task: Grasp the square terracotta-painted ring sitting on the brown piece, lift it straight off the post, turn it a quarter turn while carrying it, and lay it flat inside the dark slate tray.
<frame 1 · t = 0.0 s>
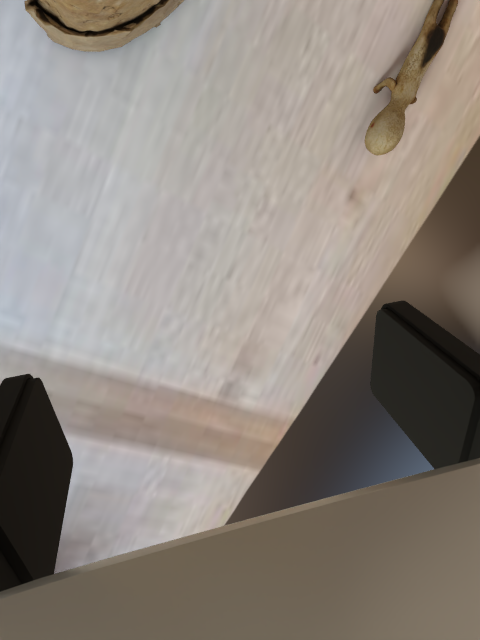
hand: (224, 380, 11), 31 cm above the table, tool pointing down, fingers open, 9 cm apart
figurine: (397, 77, 38), on the table
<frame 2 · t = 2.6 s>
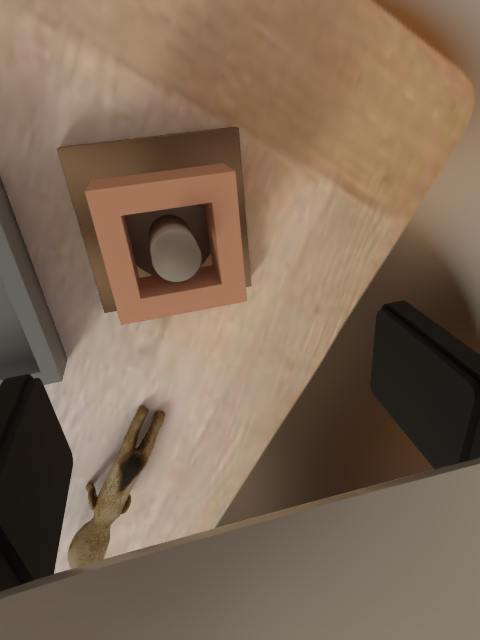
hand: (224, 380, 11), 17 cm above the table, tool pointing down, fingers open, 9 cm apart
brown piece: (165, 222, 25), on the table
ring: (169, 235, 23), point 3 cm above the table, touching brown piece
figurine: (117, 468, 34), on the table
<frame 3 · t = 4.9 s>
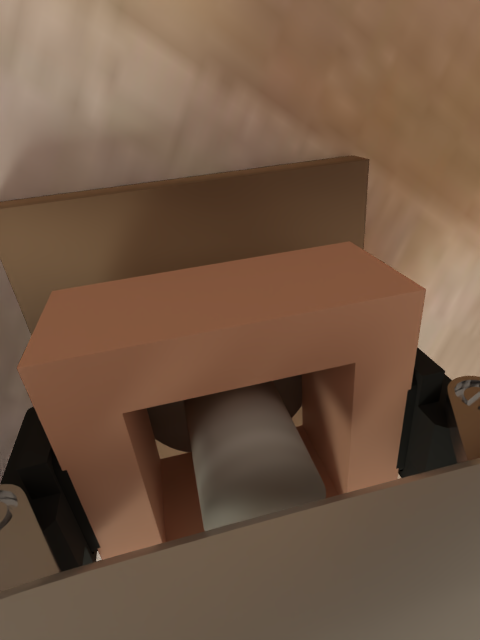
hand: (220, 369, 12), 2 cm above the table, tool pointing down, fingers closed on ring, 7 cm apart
brown piece: (208, 331, 14), on the table
ring: (225, 384, 11), point 3 cm above the table, touching gripper, brown piece
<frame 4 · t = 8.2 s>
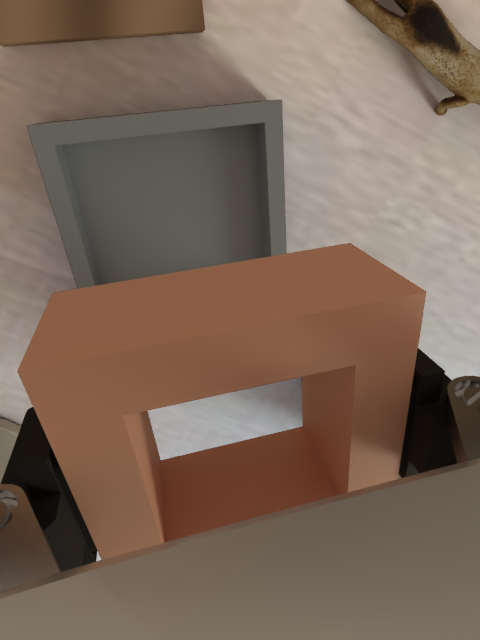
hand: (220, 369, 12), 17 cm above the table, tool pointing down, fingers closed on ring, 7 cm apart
ring: (225, 385, 11), point 17 cm above the table, touching gripper
tray: (176, 224, 26), on the table
figurine: (433, 66, 25), on the table
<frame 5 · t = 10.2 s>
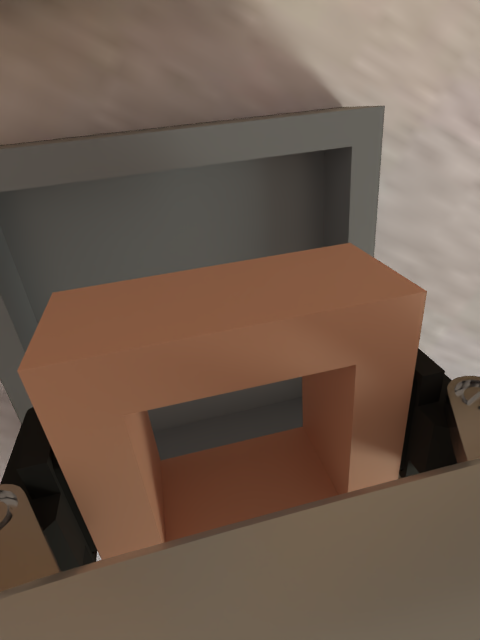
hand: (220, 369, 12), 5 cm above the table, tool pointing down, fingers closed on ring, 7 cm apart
ring: (226, 385, 11), point 6 cm above the table, touching gripper
tray: (189, 305, 16), on the table
when the fingers open (3 cm above the table, at t = 11.8 s): ring drops 3 cm, resting on tray.
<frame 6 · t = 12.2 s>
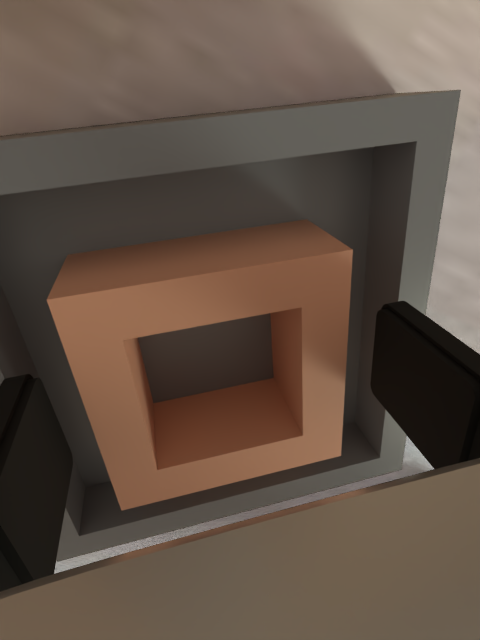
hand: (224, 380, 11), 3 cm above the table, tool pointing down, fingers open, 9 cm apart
ring: (207, 338, 13), point 1 cm above the table, touching tray
tray: (207, 327, 14), on the table
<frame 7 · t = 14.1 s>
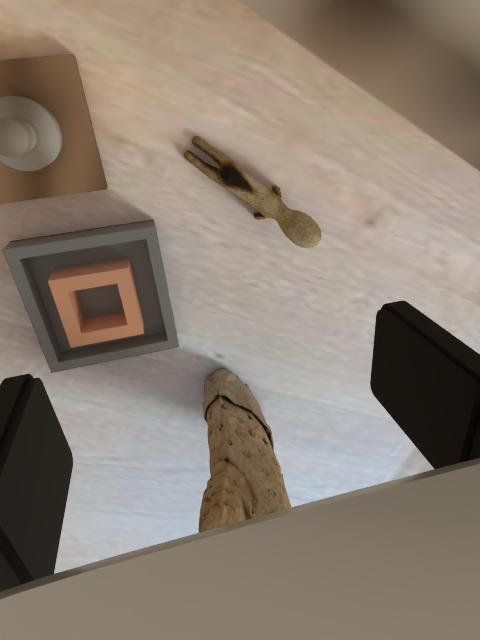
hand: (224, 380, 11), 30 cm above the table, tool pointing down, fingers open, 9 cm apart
brown piece: (30, 133, 33), on the table
ring: (101, 296, 40), point 1 cm above the table, touching tray
tray: (102, 292, 40), on the table
tan log: (218, 399, 50), on the table
figurine: (250, 190, 40), on the table
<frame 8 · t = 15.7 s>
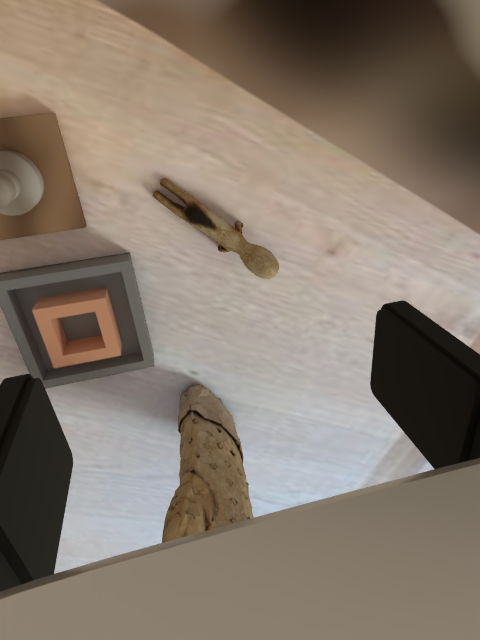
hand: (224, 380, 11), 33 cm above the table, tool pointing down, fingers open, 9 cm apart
brown piece: (15, 179, 37), on the table
ring: (82, 320, 44), point 1 cm above the table, touching tray
tray: (83, 317, 44), on the table
tan log: (194, 412, 54), on the table
figurine: (216, 225, 43), on the table
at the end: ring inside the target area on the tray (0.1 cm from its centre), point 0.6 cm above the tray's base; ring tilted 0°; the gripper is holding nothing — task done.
